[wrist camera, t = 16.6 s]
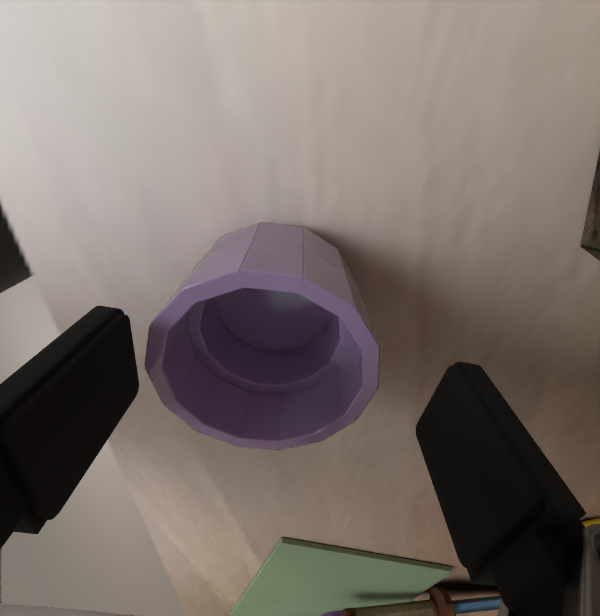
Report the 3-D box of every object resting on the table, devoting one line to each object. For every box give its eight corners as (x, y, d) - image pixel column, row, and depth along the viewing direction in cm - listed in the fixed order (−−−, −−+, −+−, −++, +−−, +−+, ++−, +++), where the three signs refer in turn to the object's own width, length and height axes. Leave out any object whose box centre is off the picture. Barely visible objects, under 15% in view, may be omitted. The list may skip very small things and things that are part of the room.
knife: (627, 610, 26) (593, 617, 29) (597, 564, 28) (569, 575, 31) (346, 641, 25) (343, 645, 28) (339, 591, 27) (337, 600, 31)
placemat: (227, 616, 34) (227, 620, 34) (281, 537, 24) (281, 542, 24) (356, 632, 37) (357, 636, 36) (451, 566, 27) (453, 572, 27)
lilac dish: (186, 336, 14) (136, 425, 10) (215, 191, 11) (160, 229, 7) (319, 373, 15) (326, 466, 11) (382, 250, 12) (427, 317, 8)
